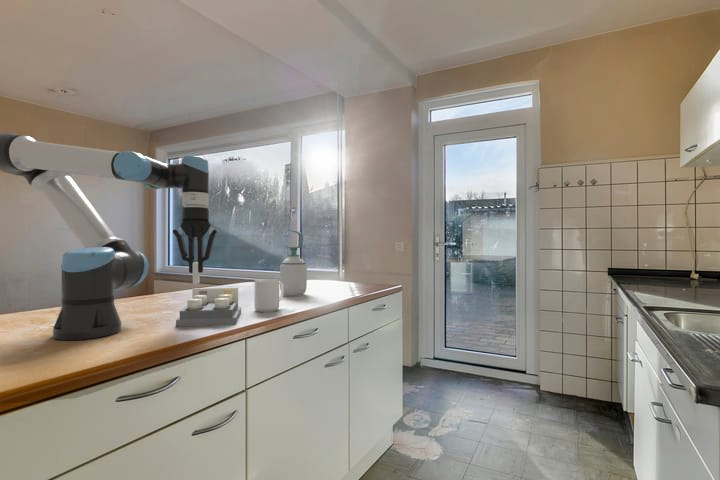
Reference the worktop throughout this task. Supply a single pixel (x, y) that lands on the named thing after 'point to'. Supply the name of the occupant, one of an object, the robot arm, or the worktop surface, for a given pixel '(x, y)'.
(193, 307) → the button front left
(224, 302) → the button front right
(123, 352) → the worktop surface
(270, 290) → the mug
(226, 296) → the button back right
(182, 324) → the button pad
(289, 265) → the soap bottle
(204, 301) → the button back left
